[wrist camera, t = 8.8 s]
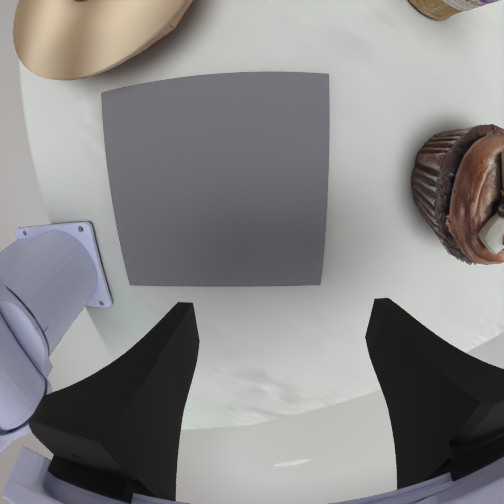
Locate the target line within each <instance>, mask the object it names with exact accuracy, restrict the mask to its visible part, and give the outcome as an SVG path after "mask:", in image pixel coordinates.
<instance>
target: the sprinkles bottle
mask: <svg viewBox="0 0 504 504" xmlns="http://www.w3.org/2000/svg"><path fill="white" fill-rule="evenodd" d="M496 1H499V0H410V2H411V3H412V4H413V5H414V6H415V7H416V8H417V9H418V10H419V11H420V12H422V13H423V14H424V15H426V16H428V17H431V18H433V19H436V20H445V19H448V18H449V17H450V16H452V15H454V14H456V13H459V12H462V11H467V10H471V9H474V8H477V7H479V6H483V5H486V4H489V3H493V2H496Z"/></svg>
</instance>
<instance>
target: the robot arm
mask: <svg viewBox="0 0 504 504" xmlns="http://www.w3.org/2000/svg"><path fill="white" fill-rule="evenodd" d="M80 226H81V227H82V228H83V230H81V228H80ZM16 237H17V240H16V241H15V242H14V243H12V244H11V245H9V246H8V247H7V248H5V249H4V250H3V251H1V252H0V453H1V452H2V450H3V449H4V448H5V447H6V446H7V445H8V444H9V443H11V442H12V441H14V440H15V439H17V438H19V437H22V436H24V435H26V434H28V433H30V432H32V433H33V434H34V435H35V436H36V437H37V438H38V439H39V441H40V442H42V443H43V444H44V445H45V446H46V447H47V448H48V449H49V450H50V451H51V452H52V453H53V454H54V456H53V458H52V461H51V460H50V459H48V458H46V457H45V456H43V455H41V454H39V453H36V452H34V451H32V450H30V449H28V448H26V447H24V446H23V447H22V448H21V450H20V452H19V454H18V456H17V458H16V461H15V463H14V466H13V468H12V470H11V472H10V475H9V477H8V480H7V482H6V484H5V487H4V490H3V492H2V496H3V497H4V498H6V499H7V500H8V501H10V502H11V503H13V504H189V503H182V502H176V498H175V497H176V473H177V459H178V448H179V439H180V431H181V424H182V417H183V412H184V407H185V404H186V400H187V396H188V393H189V389H190V385H191V382H192V378H193V374H194V371H195V367H196V363H197V357H198V350H199V342H200V341H199V335H198V330H197V324H196V318H195V312H194V306H193V303H187V302H178V303H177V304H176V305H175V306H174V307H173V308H172V309H171V310H170V311H169V312H168V313H167V314H166V315H165V316H164V317H163V318H162V319H161V320H160V321H159V322H158V323H157V324H156V325H155V326H154V327H153V328H152V329H151V330H150V331H149V332H148V333H147V334H146V335H145V336H144V337H143V338H142V339H141V340H140V341H139V342H137V343H136V344H135V345H134V346H133V347H132V348H131V349H129V350H128V351H127V352H126V353H124V354H123V355H122V356H120V357H119V358H118V359H116V360H115V361H114V362H112V363H111V364H109V365H108V366H106V367H104V368H103V369H101V370H99V371H98V372H96V373H95V374H93V375H91V376H89V377H87V378H85V379H83V380H81V381H79V382H77V383H75V384H73V385H71V386H69V387H66V388H64V389H61V390H59V391H55V392H53V393H52V387H51V384H50V382H49V380H48V379H47V376H48V375H49V373H50V371H51V370H52V368H53V366H52V364H51V362H50V360H49V356H50V355H51V353H52V352H53V350H54V349H55V347H56V346H57V344H58V343H59V341H60V340H61V339H62V337H63V336H64V334H65V333H66V331H67V330H68V329H69V327H70V326H71V324H72V323H73V322H74V320H75V319H76V318H77V316H78V315H79V313H80V312H81V311H82V310H83V308H84V307H85V306H90V307H102V308H110V307H111V305H112V299H111V296H110V293H109V290H108V286H107V283H106V279H105V276H104V272H103V269H102V265H101V261H100V257H99V253H98V249H97V245H96V241H95V236H94V232H93V227H92V225H91V224H90V223H89V222H74V223H61V224H50V225H39V226H28V227H19V228H18V229H16ZM101 301H102V302H103V303H102V302H101ZM365 338H366V343H367V347H368V352H369V356H370V359H371V362H372V365H373V367H374V370H375V373H376V375H377V378H378V381H379V383H380V386H381V389H382V392H383V394H384V397H385V400H386V403H387V407H388V410H389V416H390V420H391V425H392V431H393V438H394V444H395V454H396V465H397V490H395V491H391V492H387V493H383V494H379V495H375V496H370V497H365V498H360V499H355V500H349V501H343V502H337V503H331V504H504V369H501V368H499V367H496V366H493V365H490V364H488V363H486V362H483V361H481V360H479V359H477V358H475V357H472V356H470V355H468V354H467V353H465V352H463V351H461V350H459V349H458V348H456V347H454V346H453V345H451V344H449V343H448V342H446V341H445V340H443V339H442V338H440V337H439V336H437V335H436V334H435V333H433V332H432V331H430V330H429V329H428V328H426V327H425V326H424V325H422V324H421V323H420V322H419V321H417V320H416V319H415V318H414V317H412V316H411V315H410V314H409V313H407V312H406V311H405V310H404V309H402V308H401V307H400V306H398V305H397V304H396V303H395V302H393V301H392V300H390V299H389V298H380V299H375V300H374V304H373V308H372V312H371V317H370V321H369V325H368V328H367V332H366V336H365Z"/></svg>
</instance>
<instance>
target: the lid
mask: <svg viewBox="0 0 504 504" xmlns="http://www.w3.org/2000/svg"><path fill="white" fill-rule="evenodd" d="M189 1H190V0H19V3H18V6H17V9H16V13H15V18H14V25H13V38H14V45H15V49H16V52H17V55H18V57H19V59H20V60H21V62H22V63H23V65H24V66H25V67H26V68H27V69H28V70H29V71H31V72H32V73H34V74H36V75H38V76H40V77H43V78H47V79H53V80H76V79H84V78H87V77H91V76H95V75H97V74H100V73H102V72H105V71H108V70H110V69H112V68H114V67H116V66H118V65H120V64H122V63H123V62H125V61H126V60H128V59H130V58H131V57H133V56H135V55H136V54H137V53H139V52H140V51H141V50H143V49H144V48H146V47H147V46H148V45H149V44H151V43H152V42H153V41H154V40H155V39H156V38H158V37H159V36H160V35H161V34H162V33H163V32H164V31H165V30H166V29H167V28H168V27H169V26H170V25H171V24H172V23H173V22H174V20H175V19H176V18H177V17H178V16H179V15H180V13H181V12H182V11H183V9H184V8H185V7H186V5H187V4H188V2H189Z"/></svg>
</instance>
